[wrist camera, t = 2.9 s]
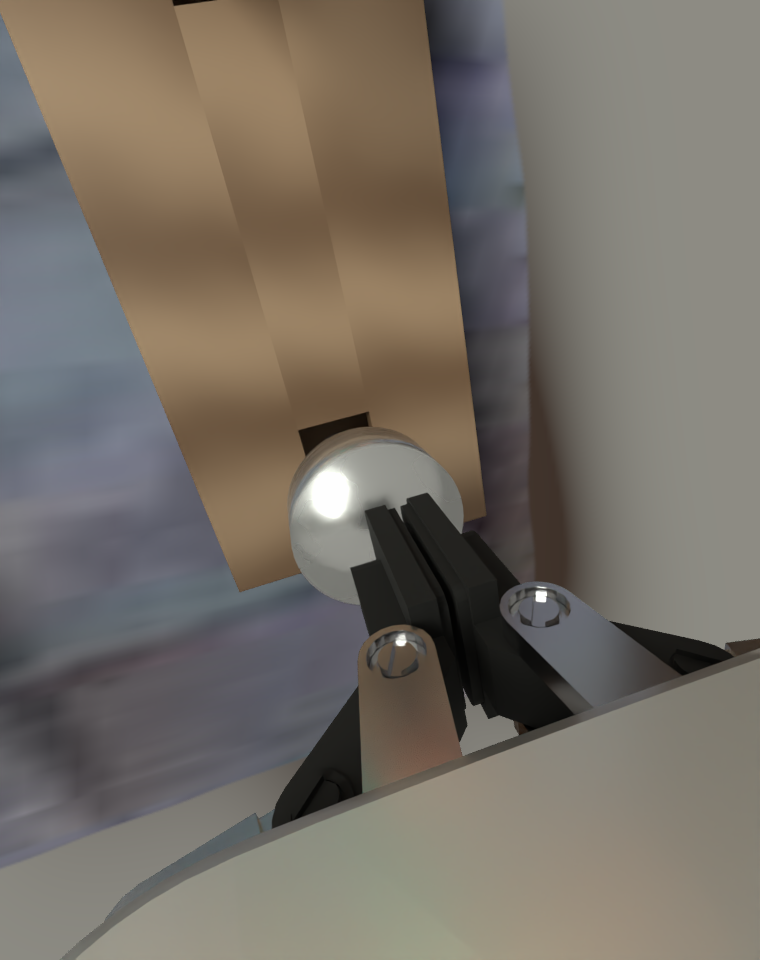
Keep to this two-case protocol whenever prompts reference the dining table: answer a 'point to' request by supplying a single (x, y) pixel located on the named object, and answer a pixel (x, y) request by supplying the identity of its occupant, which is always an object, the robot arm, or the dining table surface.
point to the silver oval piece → (357, 501)
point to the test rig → (266, 231)
